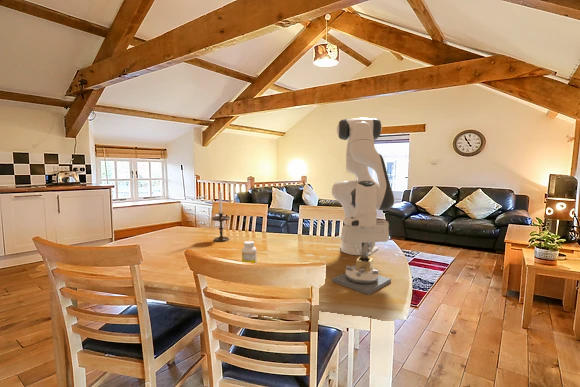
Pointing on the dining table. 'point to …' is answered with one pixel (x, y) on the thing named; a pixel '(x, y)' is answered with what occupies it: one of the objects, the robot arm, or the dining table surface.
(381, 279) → the base
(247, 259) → the supplement bottle
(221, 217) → the candlestick
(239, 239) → the dining table surface
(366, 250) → the steel pin
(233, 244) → the dining table surface
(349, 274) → the grey round chuck
